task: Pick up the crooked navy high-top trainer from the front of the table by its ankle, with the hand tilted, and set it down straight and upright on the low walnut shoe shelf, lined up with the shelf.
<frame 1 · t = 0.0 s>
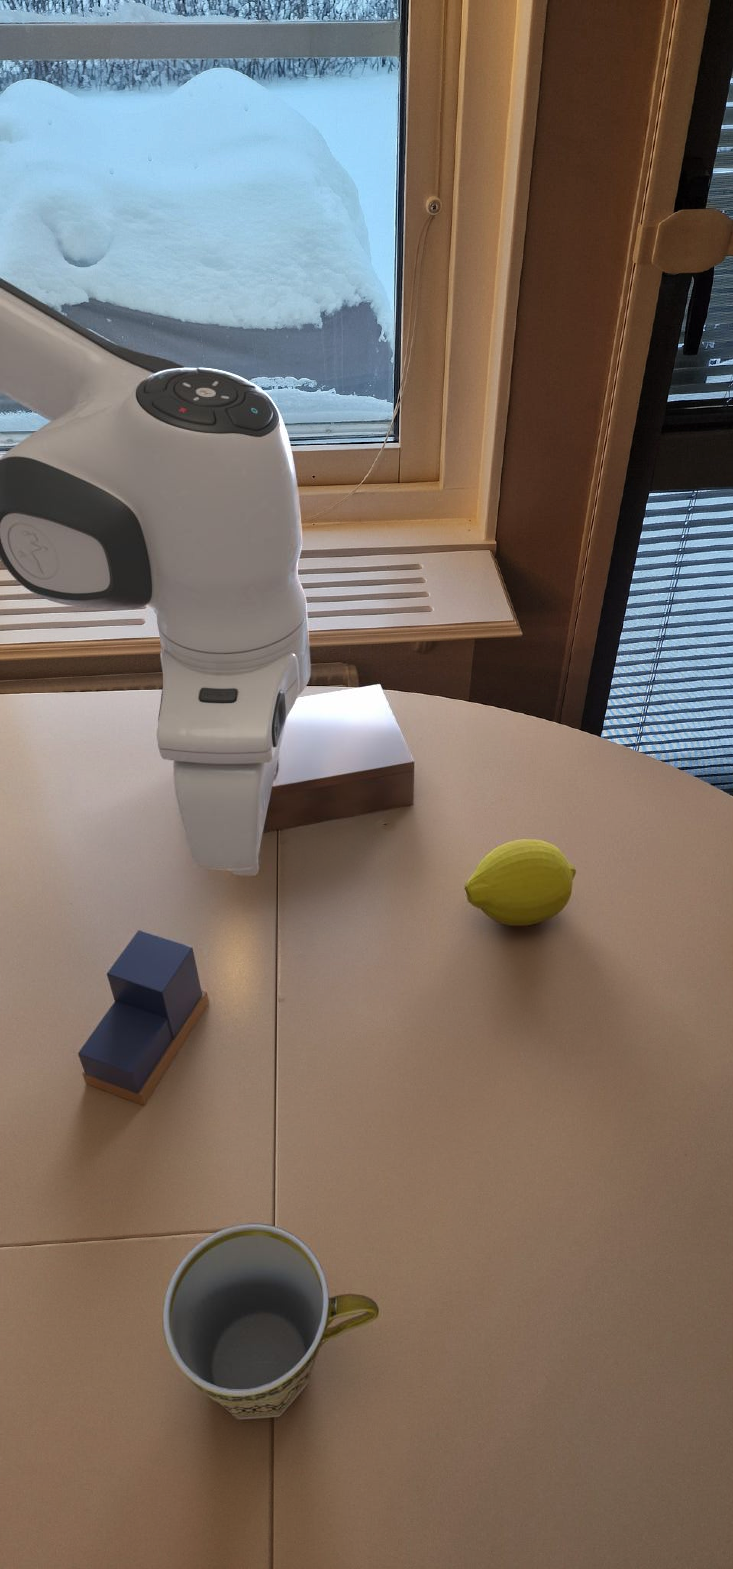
hand: (257, 818, 72), 25 cm above the table, tool pointing down, fingers open, 8 cm apart
trainer: (164, 1018, 90), on the table
shoe shelf: (308, 779, 113), on the table
lemon: (517, 912, 98), on the table
ceramic cup: (282, 1365, 69), on the table
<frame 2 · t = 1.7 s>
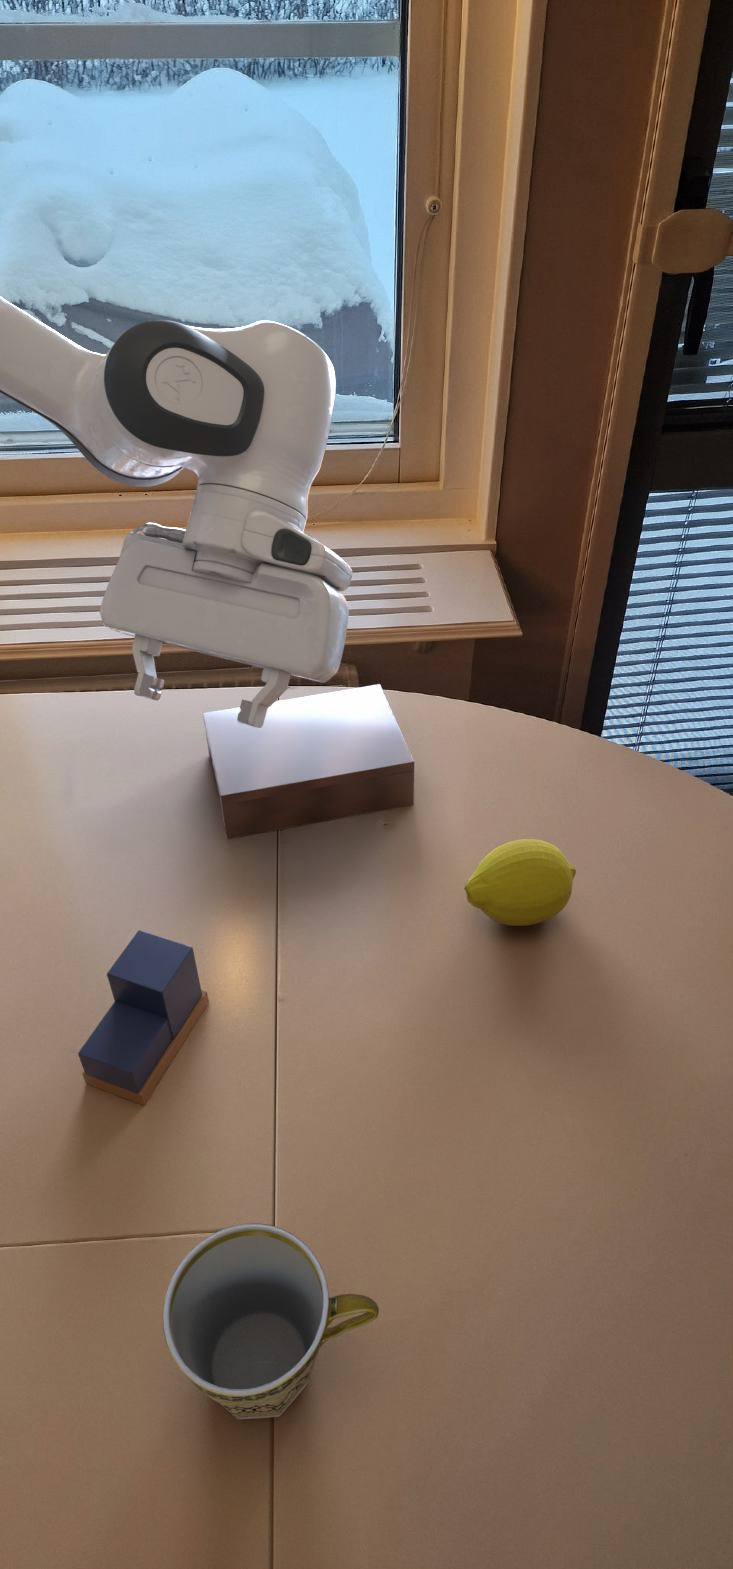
hand: (196, 711, 81), 25 cm above the table, tool tilted 45°, fingers open, 8 cm apart
nothing on the table moved.
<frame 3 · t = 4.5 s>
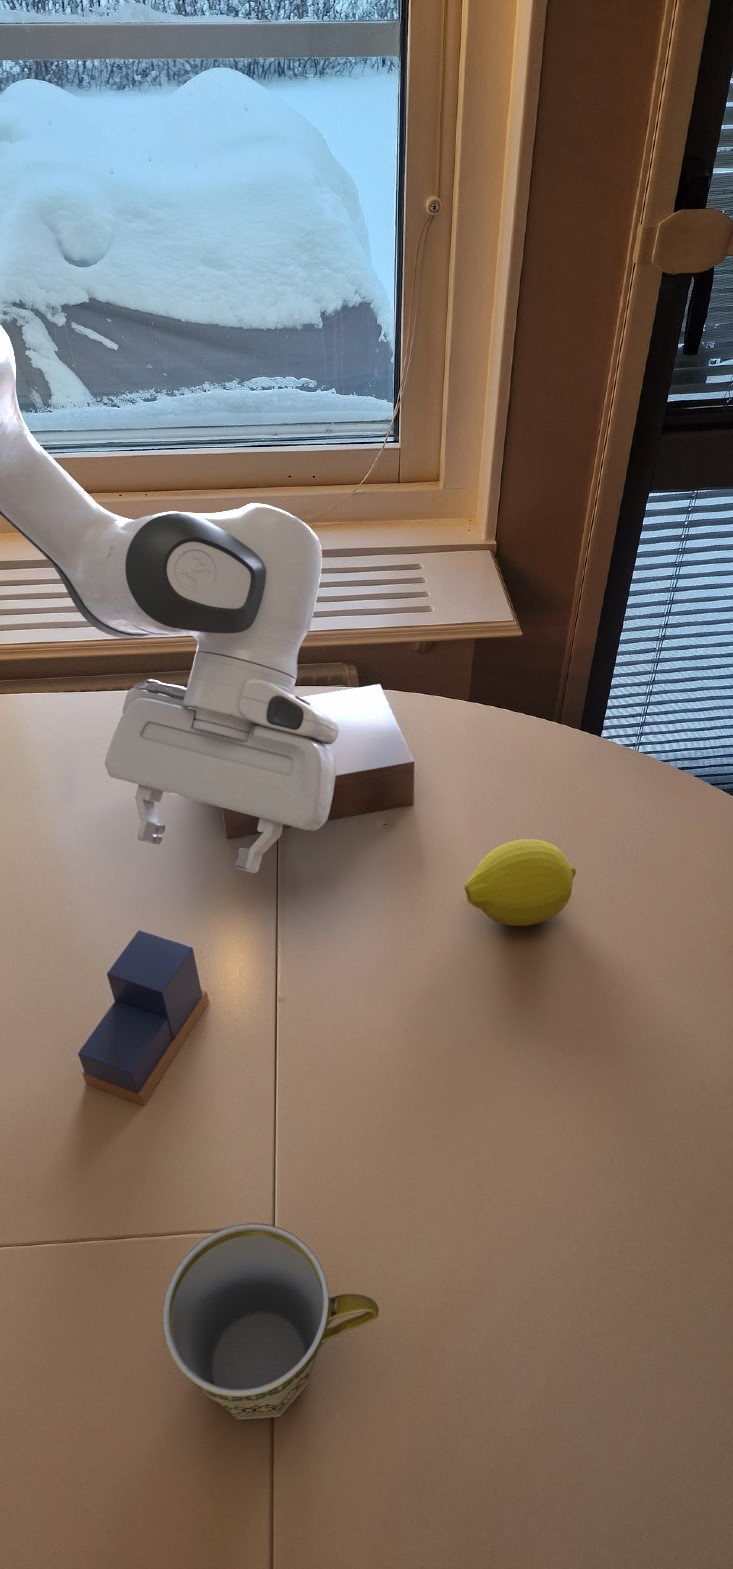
hand: (196, 856, 88), 12 cm above the table, tool tilted 45°, fingers open, 8 cm apart
nothing on the table moved.
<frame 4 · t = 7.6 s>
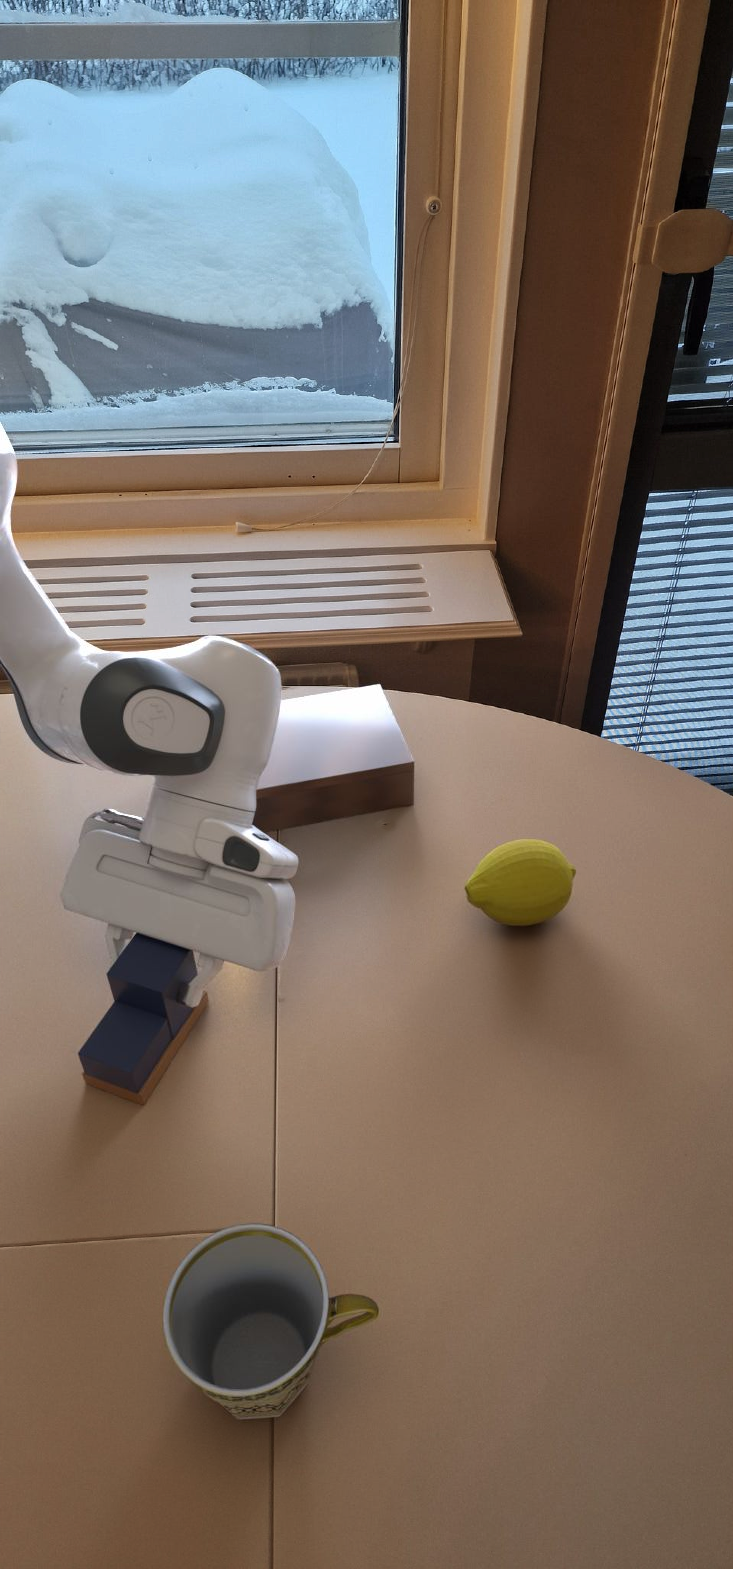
hand: (153, 992, 87), 4 cm above the table, tool tilted 45°, fingers closed on trainer, 5 cm apart
trainer: (164, 1018, 90), on the table, touching gripper
everything else where it was.
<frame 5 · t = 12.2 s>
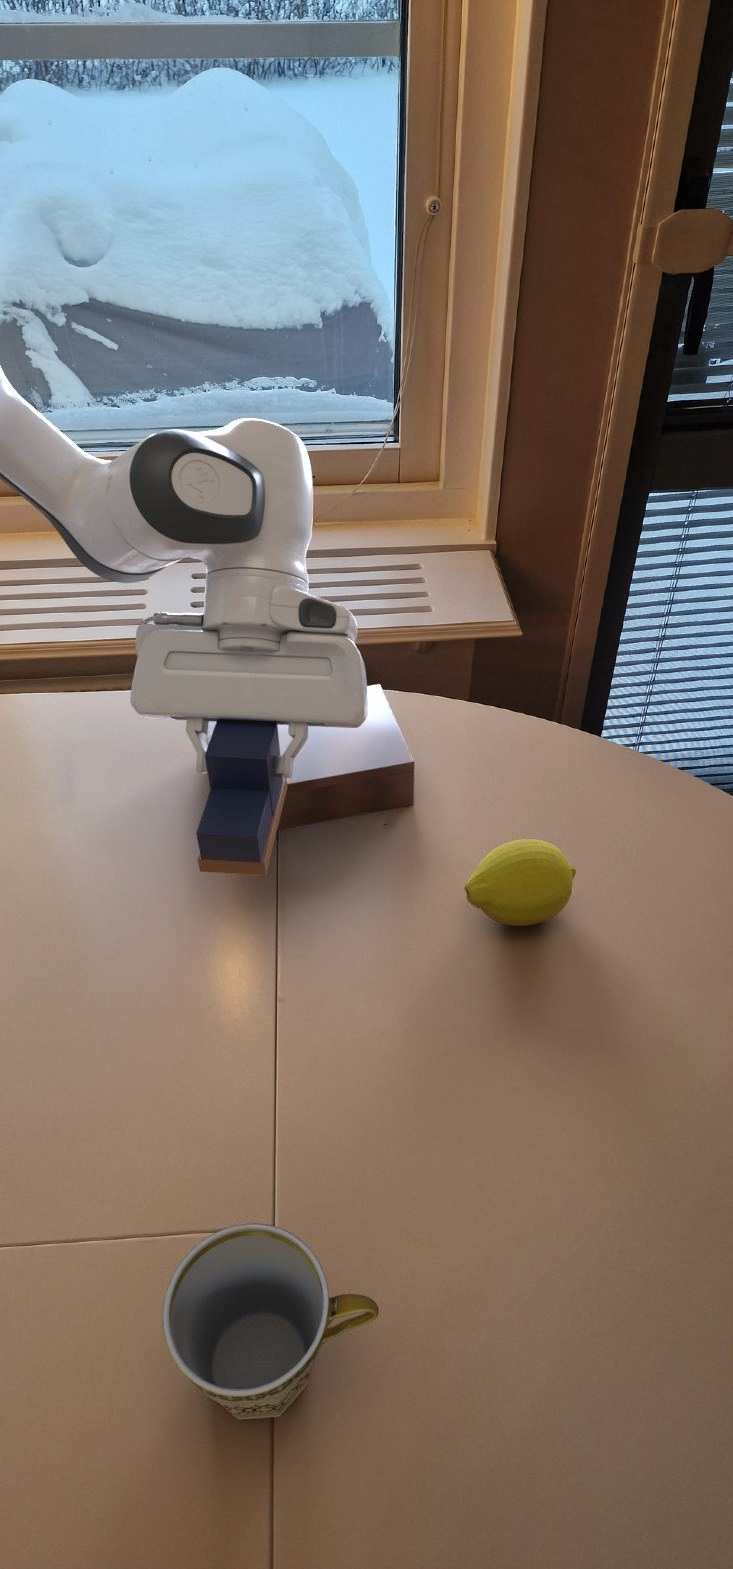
hand: (245, 775, 88), 17 cm above the table, tool tilted 45°, fingers closed on trainer, 5 cm apart
trainer: (250, 808, 92), point 12 cm above the table, touching gripper
everything else where it was.
when the fingers open (10 cm above the table, at t = 16.8 s): trainer stays where it is, resting on shoe shelf.
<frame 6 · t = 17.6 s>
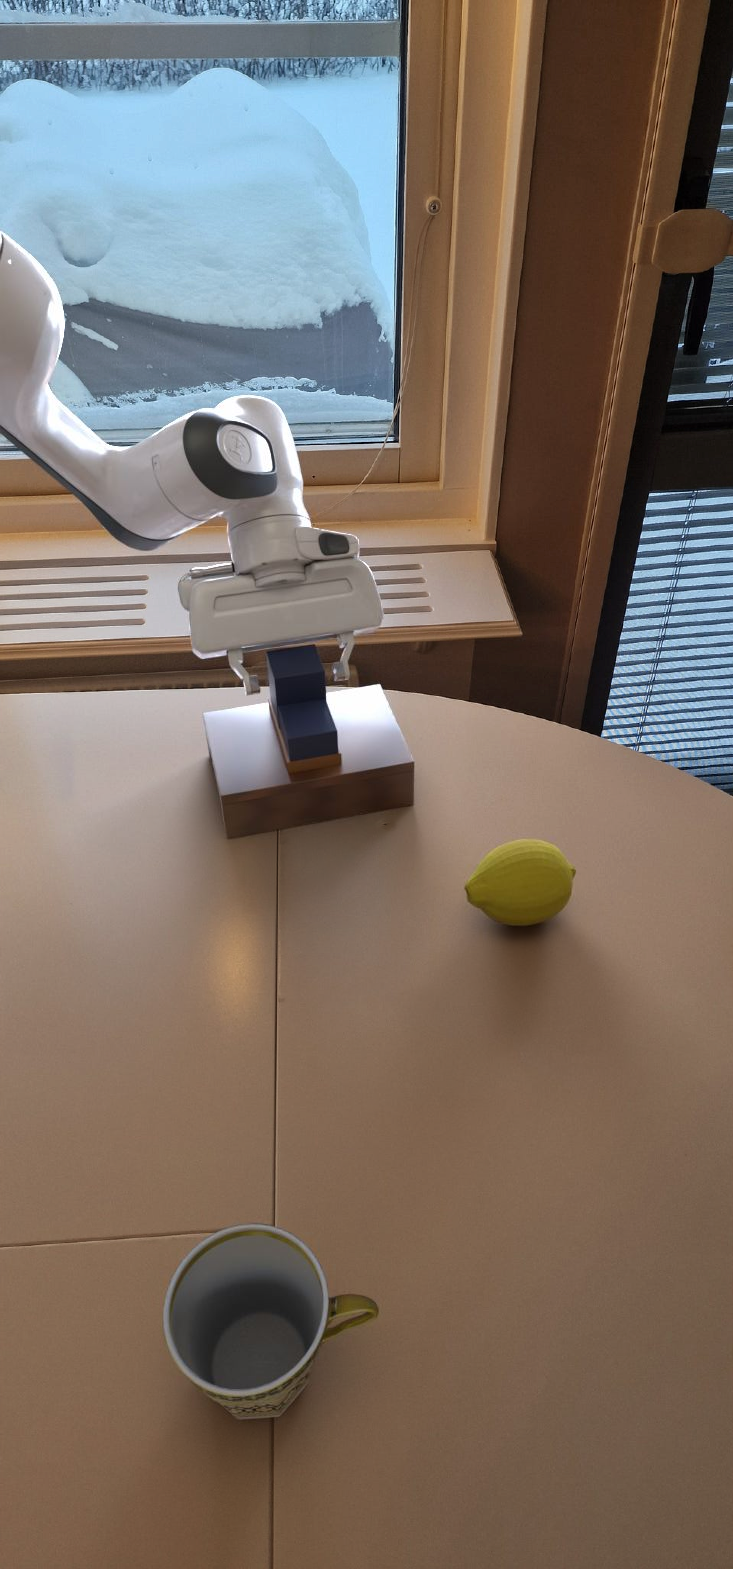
hand: (298, 686, 107), 11 cm above the table, tool tilted 45°, fingers open, 8 cm apart
trainer: (299, 722, 111), point 6 cm above the table, touching shoe shelf
everything else where it was.
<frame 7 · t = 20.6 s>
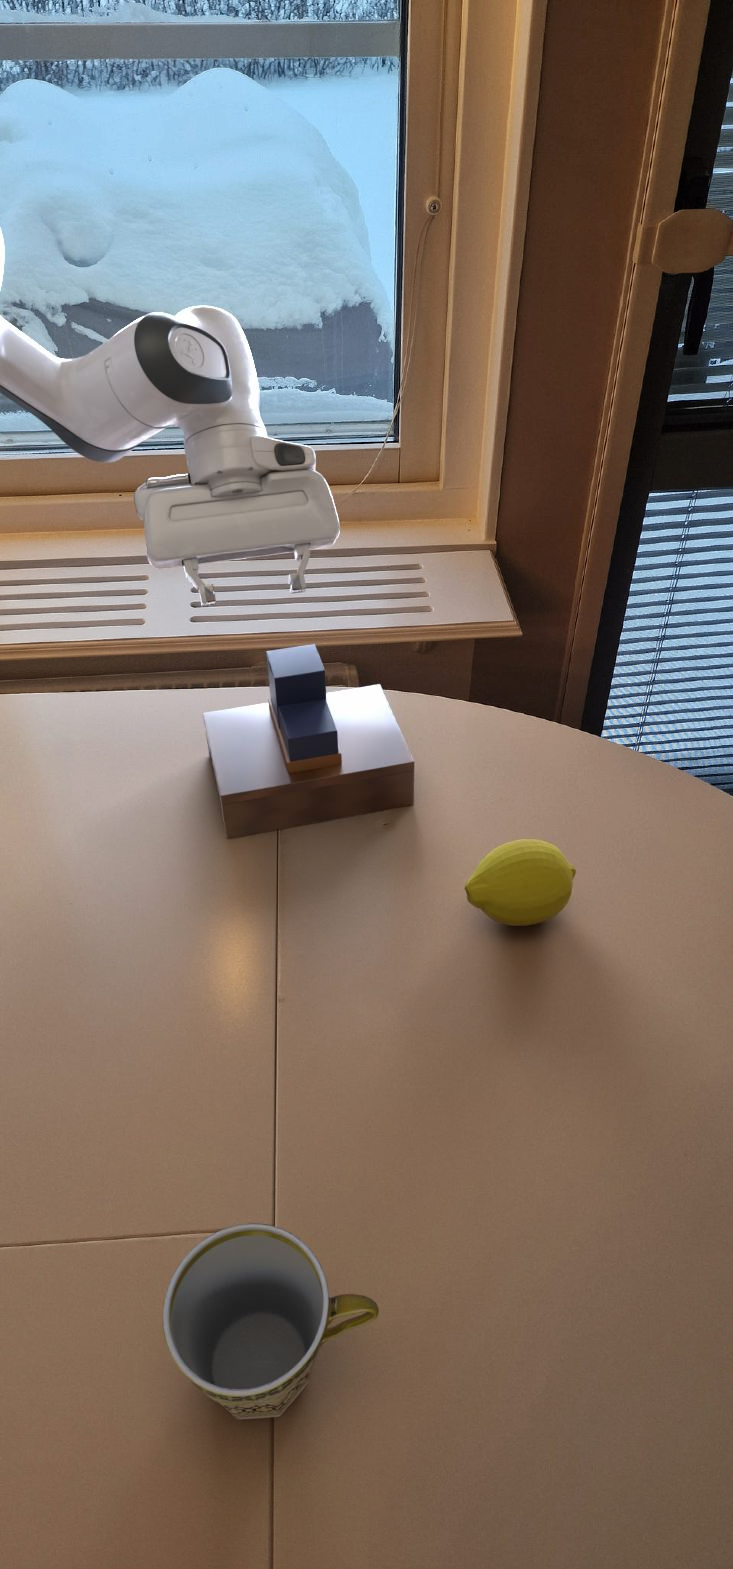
hand: (254, 597, 108), 18 cm above the table, tool tilted 45°, fingers open, 8 cm apart
nothing on the table moved.
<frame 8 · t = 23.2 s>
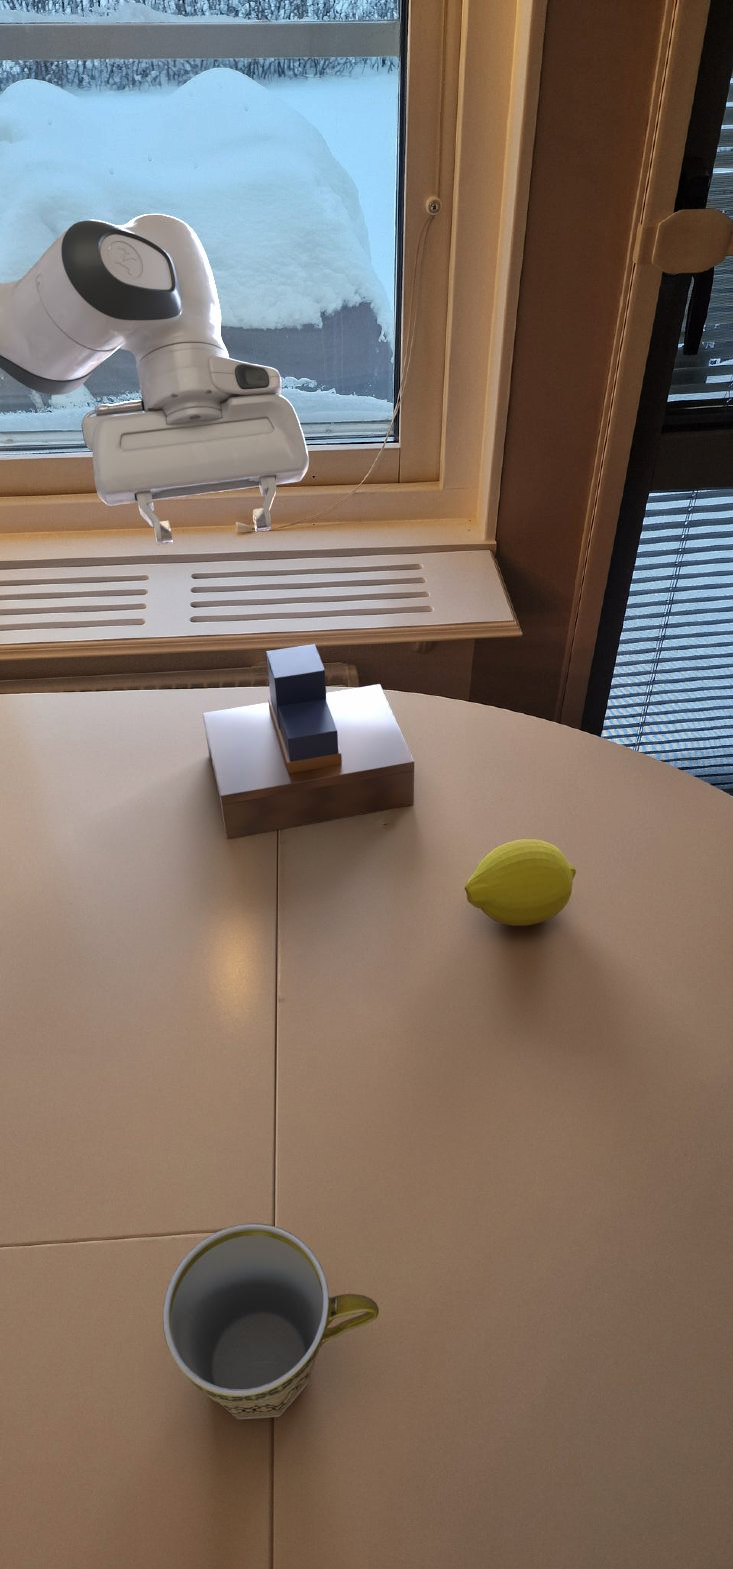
hand: (214, 535, 98), 27 cm above the table, tool tilted 45°, fingers open, 8 cm apart
nothing on the table moved.
at the end: trainer inside the target area on the shoe shelf (0.3 cm from its centre), point 6.0 cm above the shoe shelf's base; trainer tilted 0°; the gripper is holding nothing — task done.
